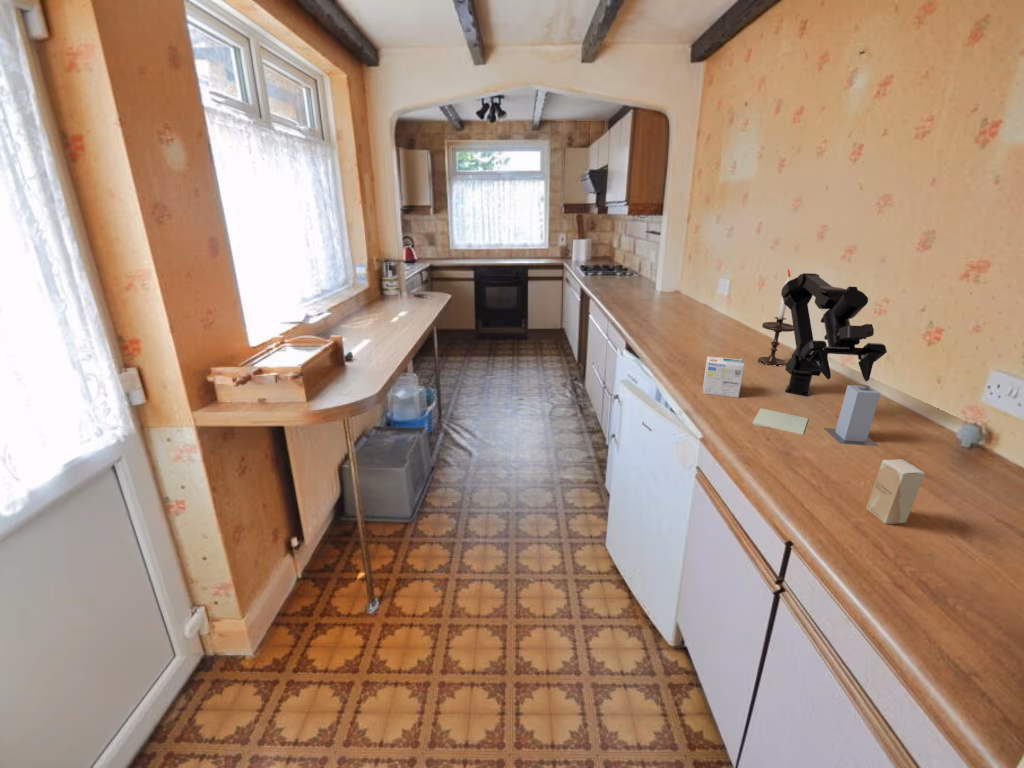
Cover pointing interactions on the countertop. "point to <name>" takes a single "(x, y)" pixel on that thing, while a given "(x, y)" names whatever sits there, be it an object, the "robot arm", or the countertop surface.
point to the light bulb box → (723, 376)
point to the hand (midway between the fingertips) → (848, 379)
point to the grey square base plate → (842, 441)
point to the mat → (780, 421)
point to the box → (894, 491)
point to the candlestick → (777, 333)
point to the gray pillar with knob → (857, 412)
